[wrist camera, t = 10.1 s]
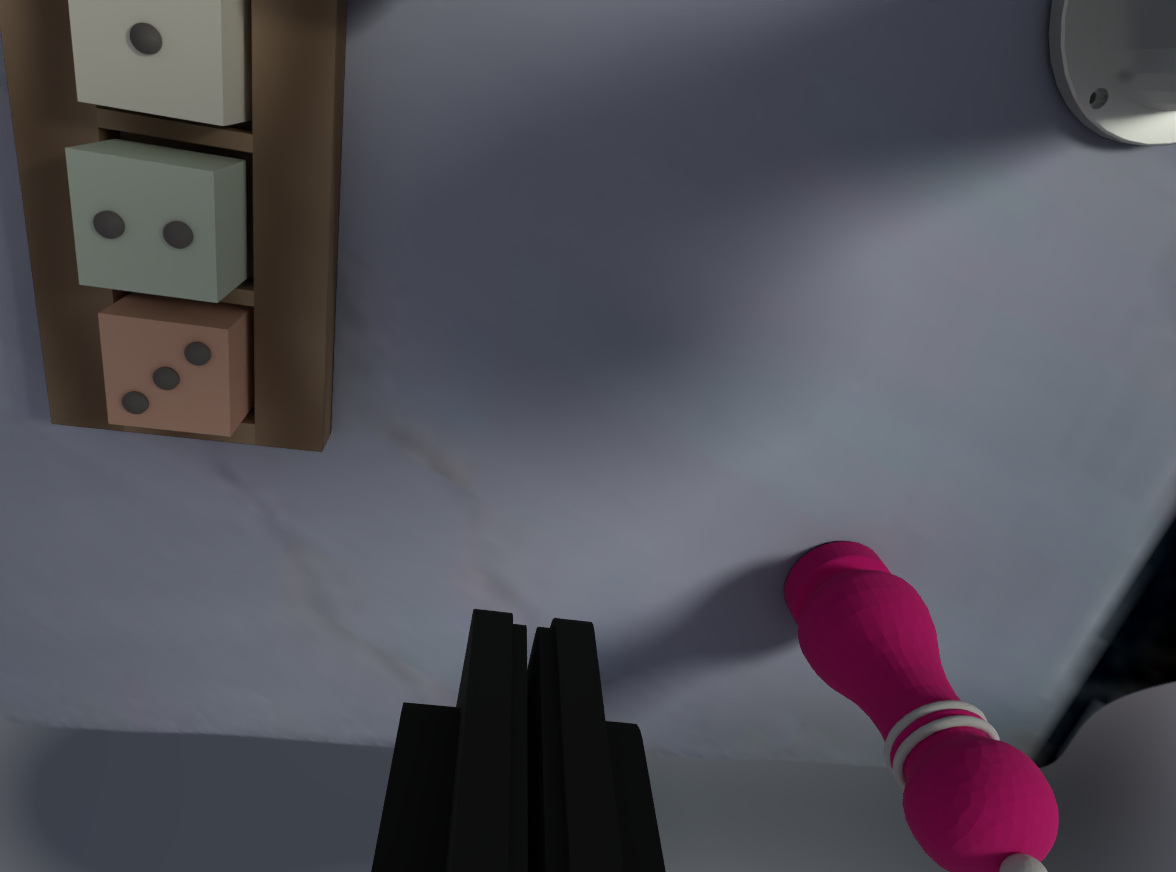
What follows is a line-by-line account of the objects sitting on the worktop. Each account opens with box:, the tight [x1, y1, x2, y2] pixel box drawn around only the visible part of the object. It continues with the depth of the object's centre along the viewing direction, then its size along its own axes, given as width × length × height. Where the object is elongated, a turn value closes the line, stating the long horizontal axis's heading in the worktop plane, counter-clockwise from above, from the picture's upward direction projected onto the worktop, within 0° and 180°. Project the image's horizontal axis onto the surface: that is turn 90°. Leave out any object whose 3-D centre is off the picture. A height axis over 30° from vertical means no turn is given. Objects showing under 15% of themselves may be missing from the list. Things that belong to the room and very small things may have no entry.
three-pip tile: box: [98, 292, 255, 437], centre depth 34 cm, size 5×5×4 cm
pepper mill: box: [784, 541, 1058, 872], centre depth 38 cm, size 7×7×20 cm
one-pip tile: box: [68, 0, 252, 126], centre depth 29 cm, size 5×5×4 cm
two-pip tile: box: [65, 139, 247, 303], centre depth 30 cm, size 5×5×4 cm
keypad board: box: [0, 0, 347, 452], centre depth 33 cm, size 12×21×2 cm, turn 170°
